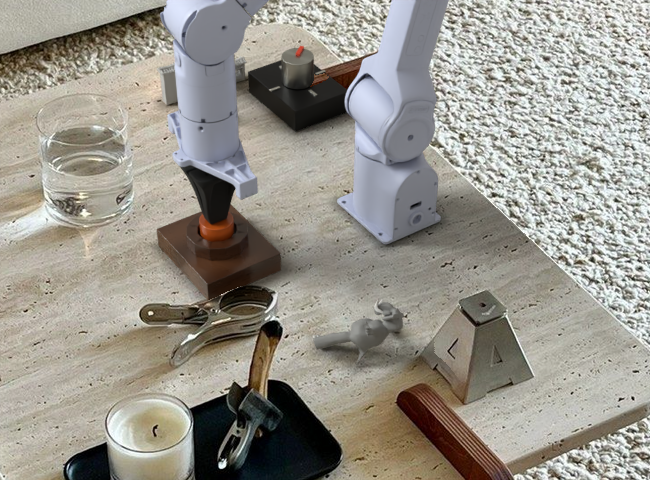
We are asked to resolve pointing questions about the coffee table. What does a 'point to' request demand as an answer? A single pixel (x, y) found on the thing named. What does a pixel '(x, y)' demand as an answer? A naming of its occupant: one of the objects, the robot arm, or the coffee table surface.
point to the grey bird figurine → (366, 330)
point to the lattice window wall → (170, 79)
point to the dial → (297, 68)
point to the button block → (219, 254)
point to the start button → (217, 229)
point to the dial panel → (297, 97)
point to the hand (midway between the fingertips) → (216, 218)
